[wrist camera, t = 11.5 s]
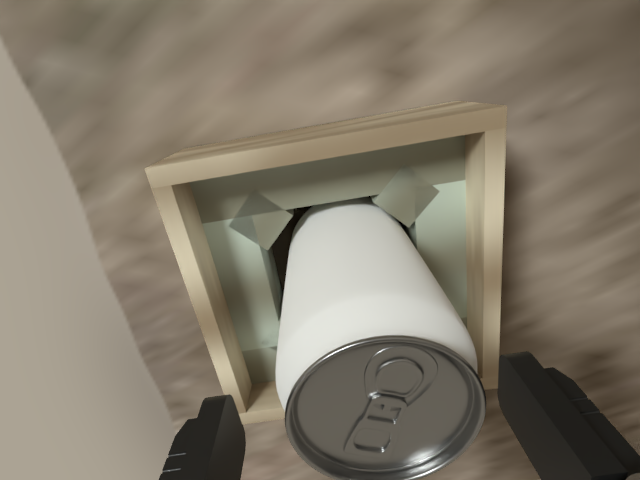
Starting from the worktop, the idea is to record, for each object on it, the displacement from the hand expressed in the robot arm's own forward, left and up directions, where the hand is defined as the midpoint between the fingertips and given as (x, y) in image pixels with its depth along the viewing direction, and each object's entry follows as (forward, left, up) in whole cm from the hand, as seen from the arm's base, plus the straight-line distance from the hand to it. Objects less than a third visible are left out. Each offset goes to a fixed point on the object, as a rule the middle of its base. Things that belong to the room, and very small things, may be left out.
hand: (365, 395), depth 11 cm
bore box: (0, 0, -11) cm, 11 cm away
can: (0, 0, -11) cm, 11 cm away
